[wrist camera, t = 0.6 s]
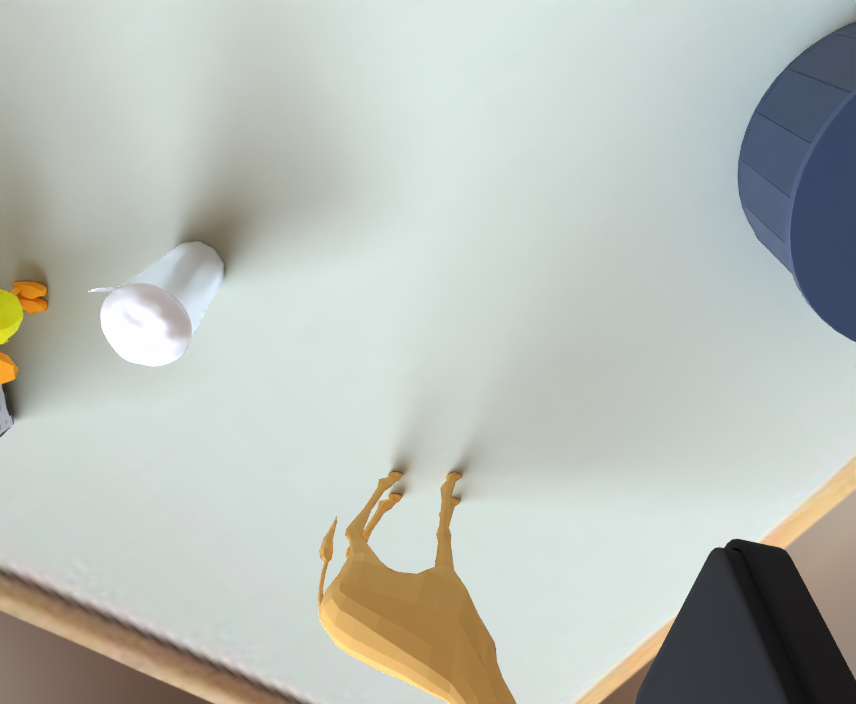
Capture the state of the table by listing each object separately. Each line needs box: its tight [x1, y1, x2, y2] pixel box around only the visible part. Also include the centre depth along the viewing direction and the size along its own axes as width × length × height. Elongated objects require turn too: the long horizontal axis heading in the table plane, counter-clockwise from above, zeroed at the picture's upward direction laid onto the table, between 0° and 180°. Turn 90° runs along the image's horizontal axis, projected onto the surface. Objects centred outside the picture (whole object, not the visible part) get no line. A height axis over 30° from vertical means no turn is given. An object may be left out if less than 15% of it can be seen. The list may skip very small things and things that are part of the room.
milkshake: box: [87, 241, 224, 366], centre depth 40 cm, size 5×5×10 cm
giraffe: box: [318, 472, 516, 704], centre depth 40 cm, size 16×4×25 cm, turn 88°
